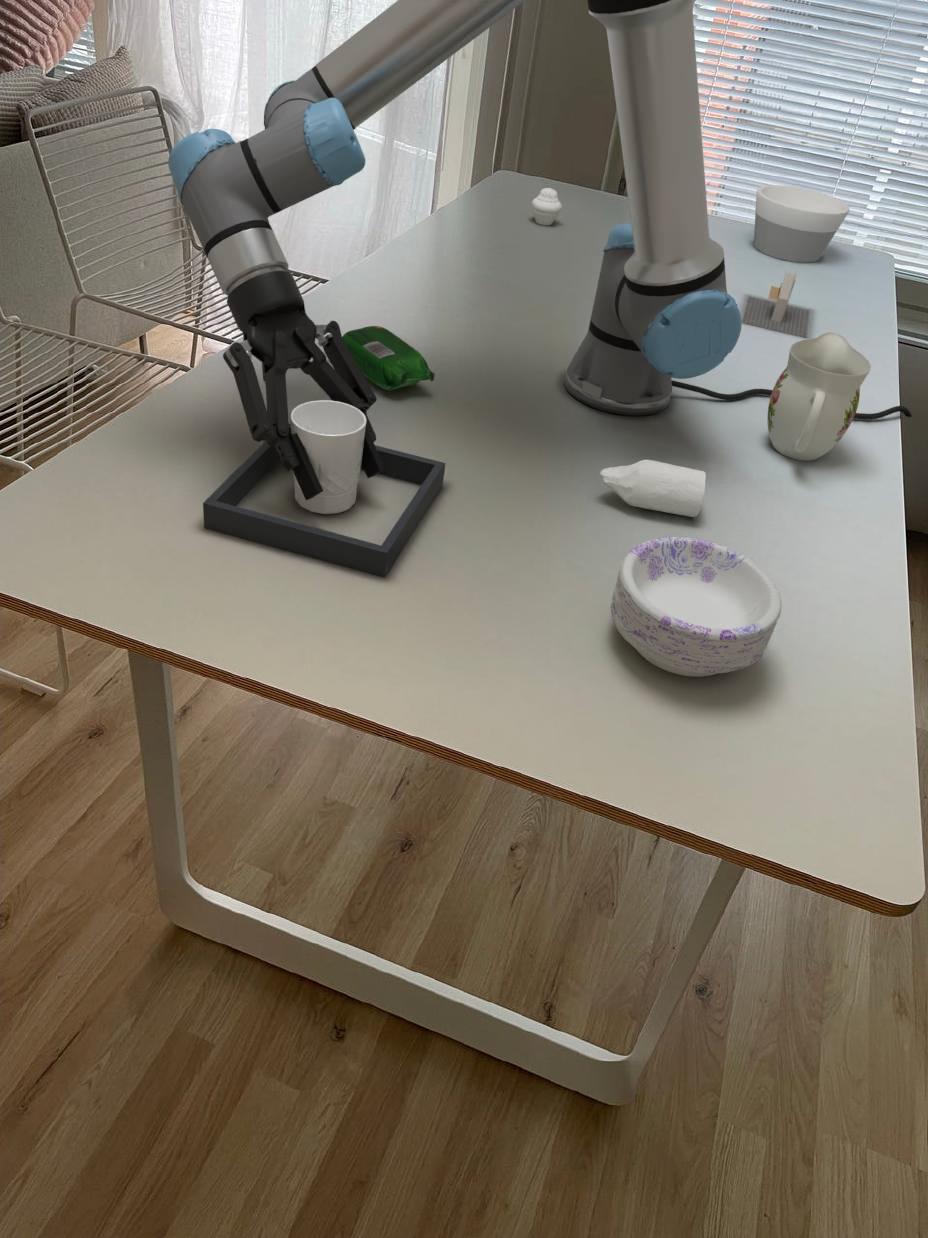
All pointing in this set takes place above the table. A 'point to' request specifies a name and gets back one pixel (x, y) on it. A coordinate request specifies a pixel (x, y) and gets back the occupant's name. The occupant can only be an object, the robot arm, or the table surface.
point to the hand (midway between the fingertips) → (346, 484)
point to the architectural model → (778, 310)
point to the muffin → (546, 206)
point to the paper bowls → (694, 606)
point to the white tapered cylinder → (658, 486)
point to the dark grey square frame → (313, 540)
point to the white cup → (330, 452)
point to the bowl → (796, 222)
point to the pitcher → (816, 396)
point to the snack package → (386, 358)
